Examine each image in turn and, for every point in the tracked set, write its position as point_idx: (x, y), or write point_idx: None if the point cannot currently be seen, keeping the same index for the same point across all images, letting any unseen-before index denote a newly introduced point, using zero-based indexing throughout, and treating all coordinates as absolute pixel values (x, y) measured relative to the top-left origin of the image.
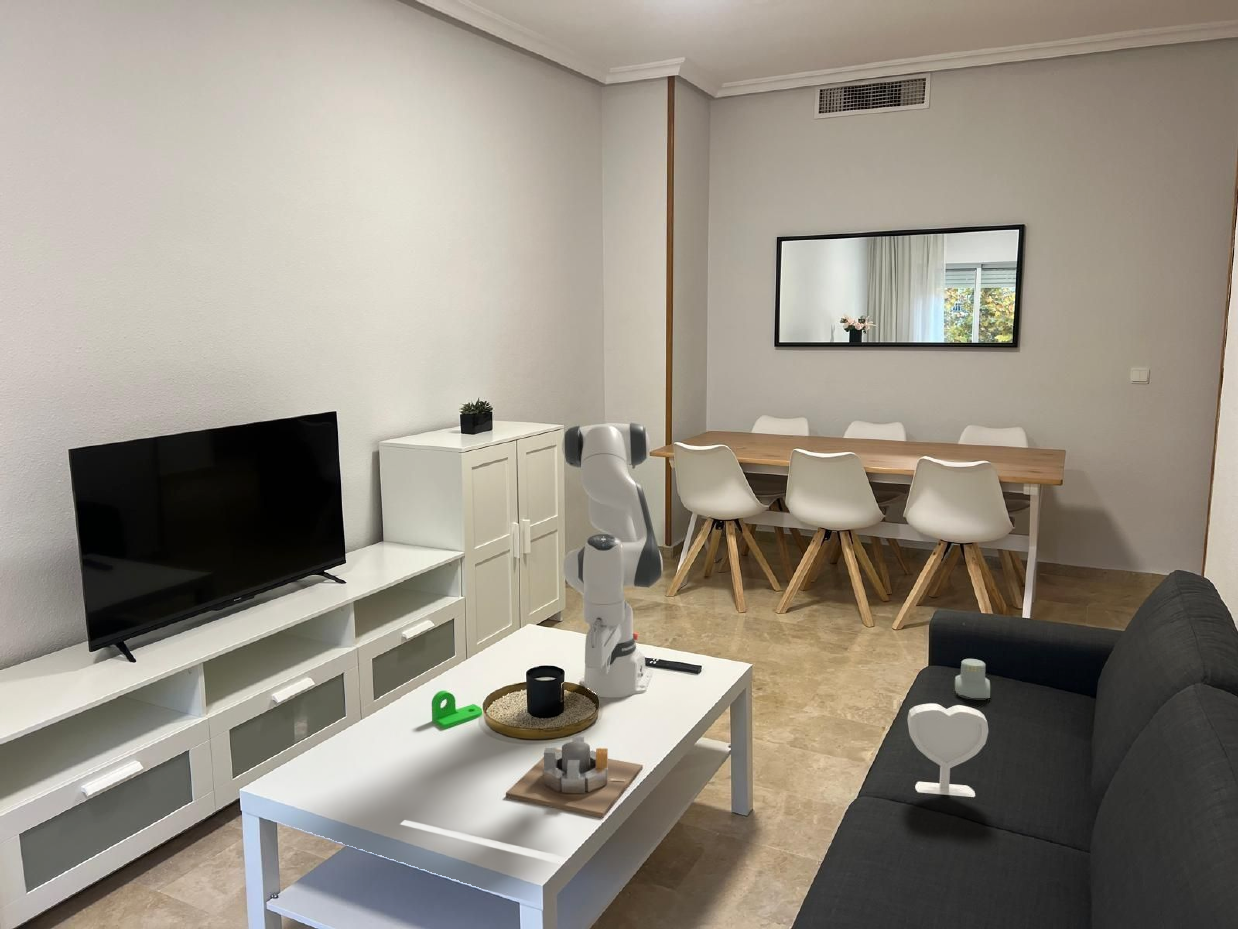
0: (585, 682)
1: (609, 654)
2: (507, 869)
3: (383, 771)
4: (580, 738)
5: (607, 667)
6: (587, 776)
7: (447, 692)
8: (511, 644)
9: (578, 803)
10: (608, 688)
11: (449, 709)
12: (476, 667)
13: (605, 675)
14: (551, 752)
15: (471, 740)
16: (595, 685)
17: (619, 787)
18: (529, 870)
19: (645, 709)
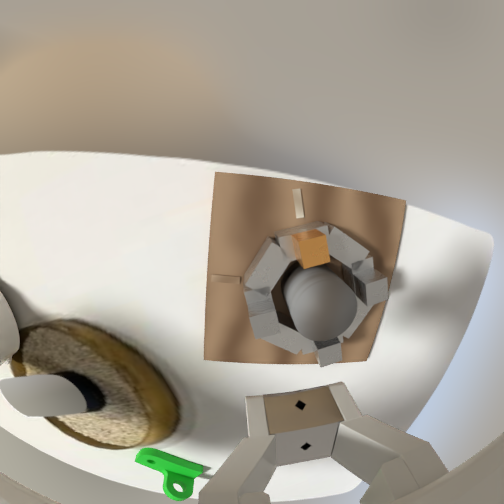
0: (8, 357)
1: (488, 474)
2: (483, 277)
3: (312, 467)
4: (260, 322)
5: (330, 419)
6: (361, 255)
7: (173, 496)
8: (5, 426)
9: (387, 249)
10: (4, 323)
11: (175, 479)
12: (56, 453)
13: (341, 384)
14: (340, 349)
15: (211, 445)
16: (9, 344)
17: (322, 193)
18: (485, 255)
19: (9, 249)
